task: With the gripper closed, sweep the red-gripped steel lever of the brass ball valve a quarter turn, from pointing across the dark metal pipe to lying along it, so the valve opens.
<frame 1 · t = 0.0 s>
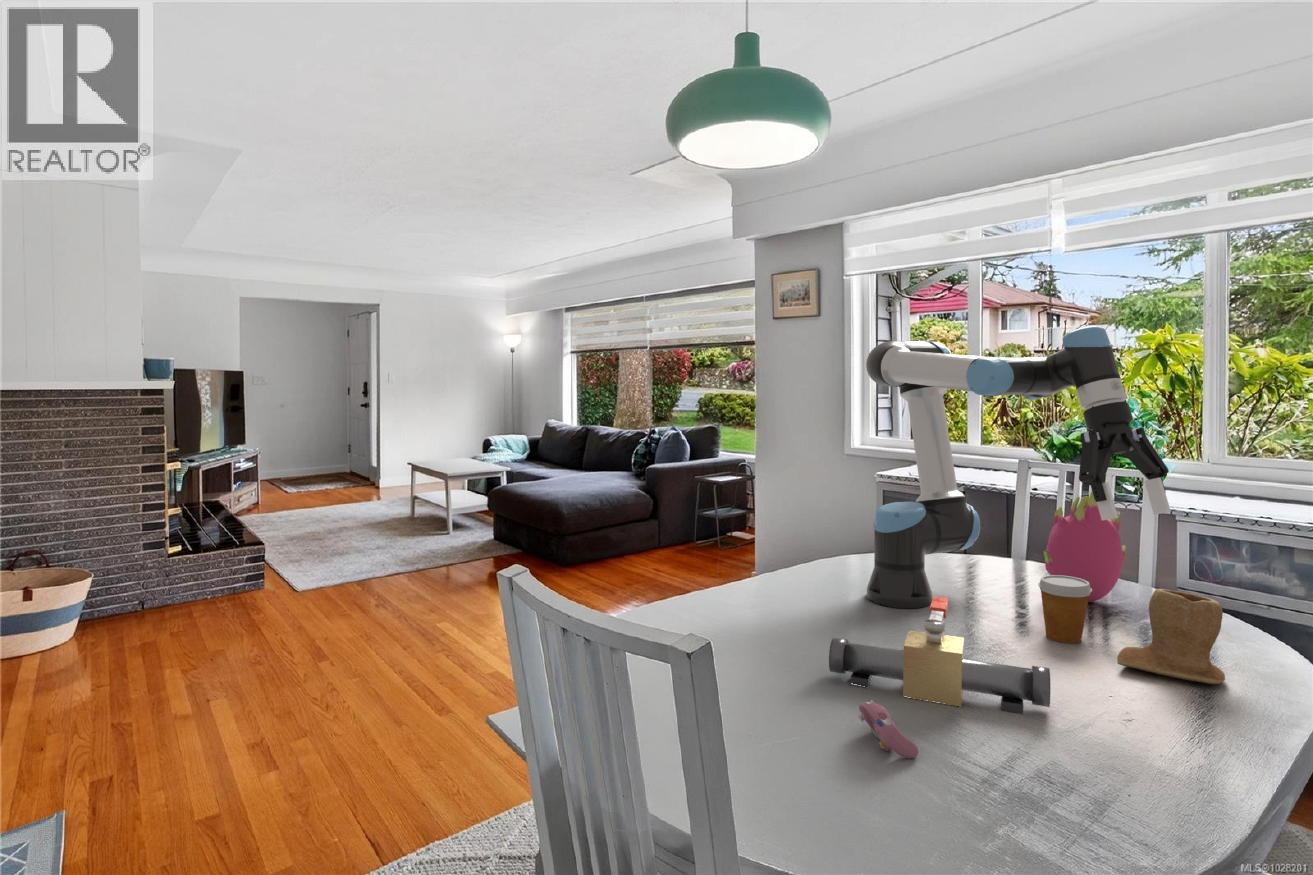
hand: (1136, 516, 128), 28 cm above the table, tool tilted 20°, fingers open, 13 cm apart
valve pipe: (933, 692, 120), on the table
disposable coffee cup: (1063, 638, 144), on the table
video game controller: (885, 745, 103), on the table
tan flared piece: (1170, 673, 126), on the table
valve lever: (937, 614, 125), point 12 cm above the table, hinge at 0.0°
pink dragon fruit: (1082, 602, 168), on the table
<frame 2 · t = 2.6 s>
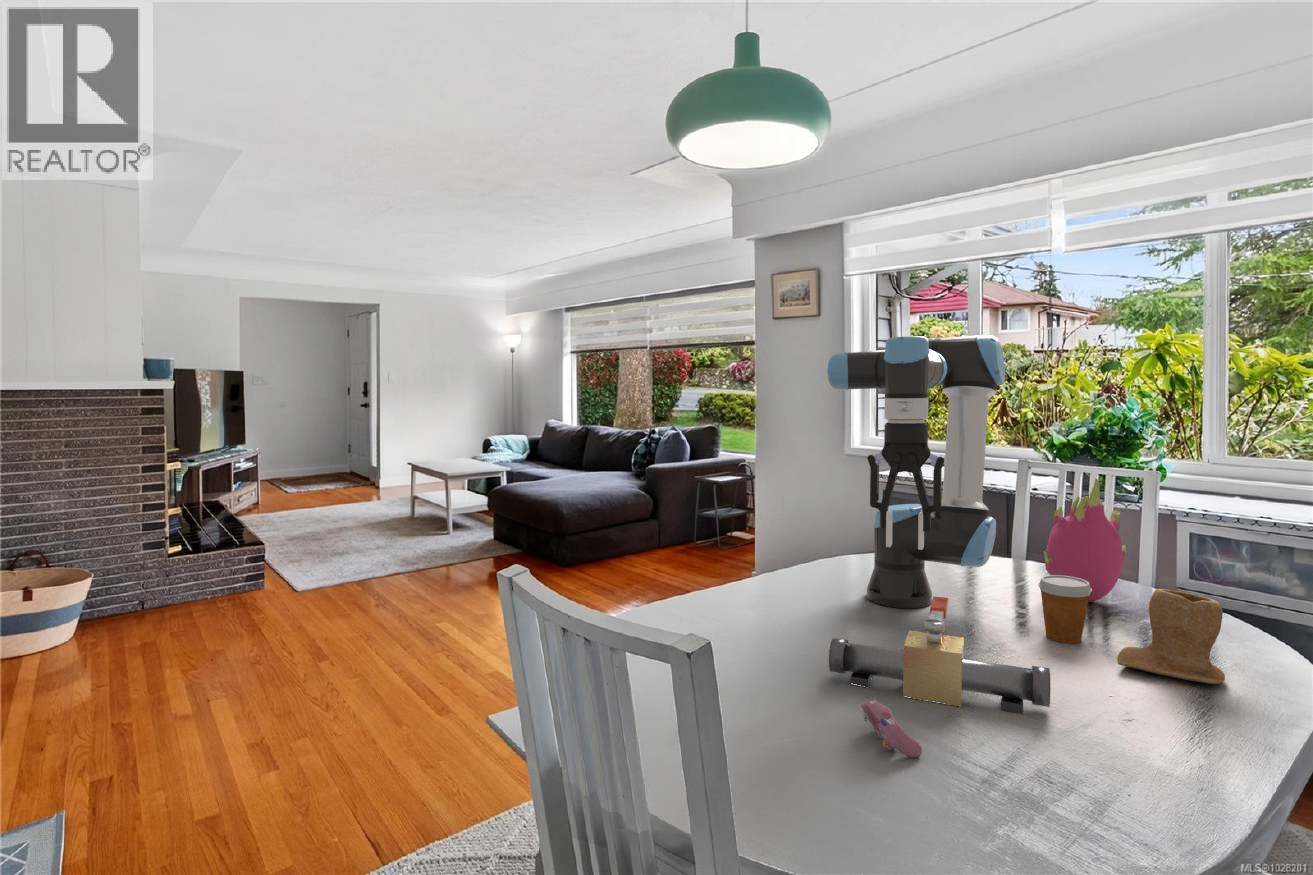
hand: (904, 546, 130), 23 cm above the table, tool pointing down, fingers open, 5 cm apart
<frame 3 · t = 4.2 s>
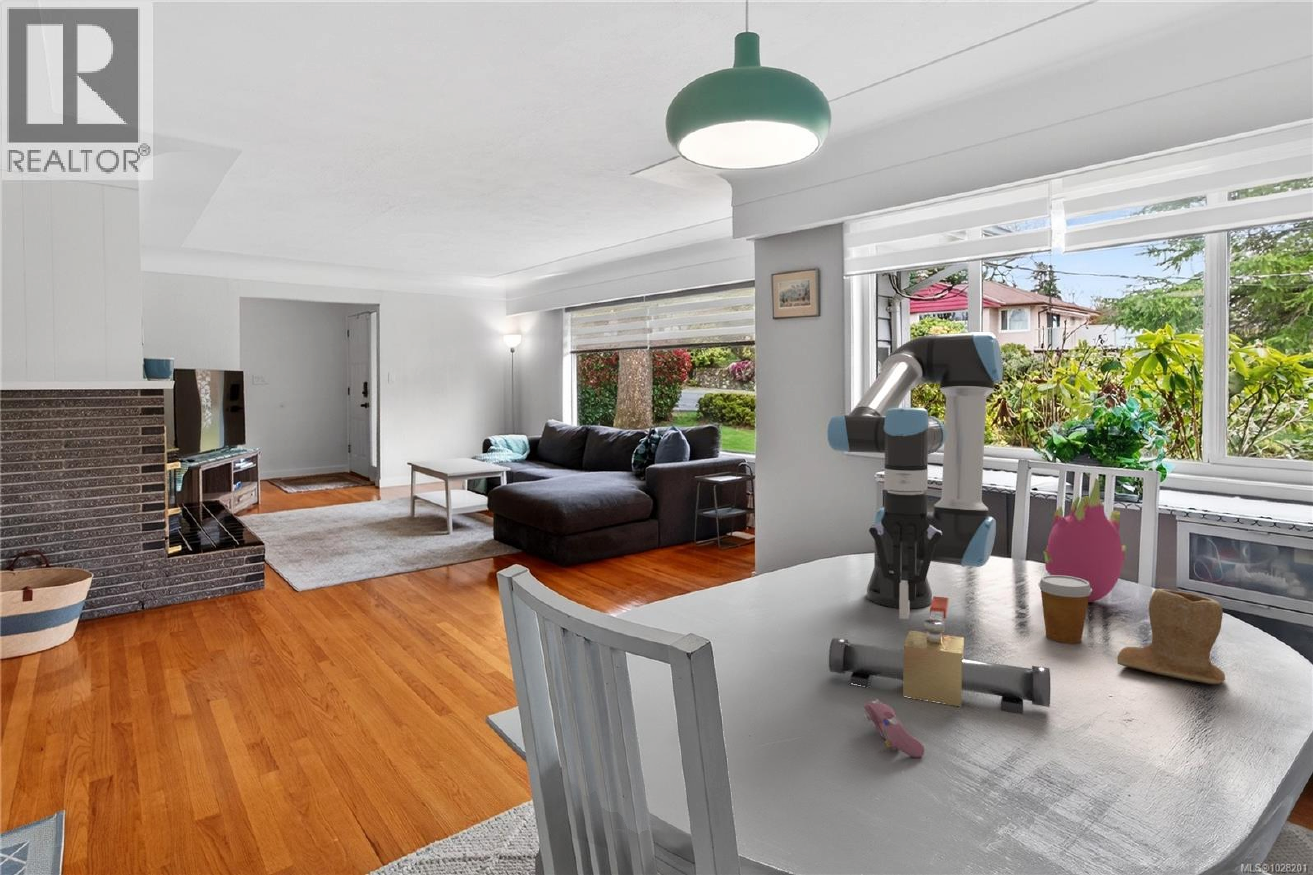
hand: (904, 616, 131), 9 cm above the table, tool pointing down, fingers closed
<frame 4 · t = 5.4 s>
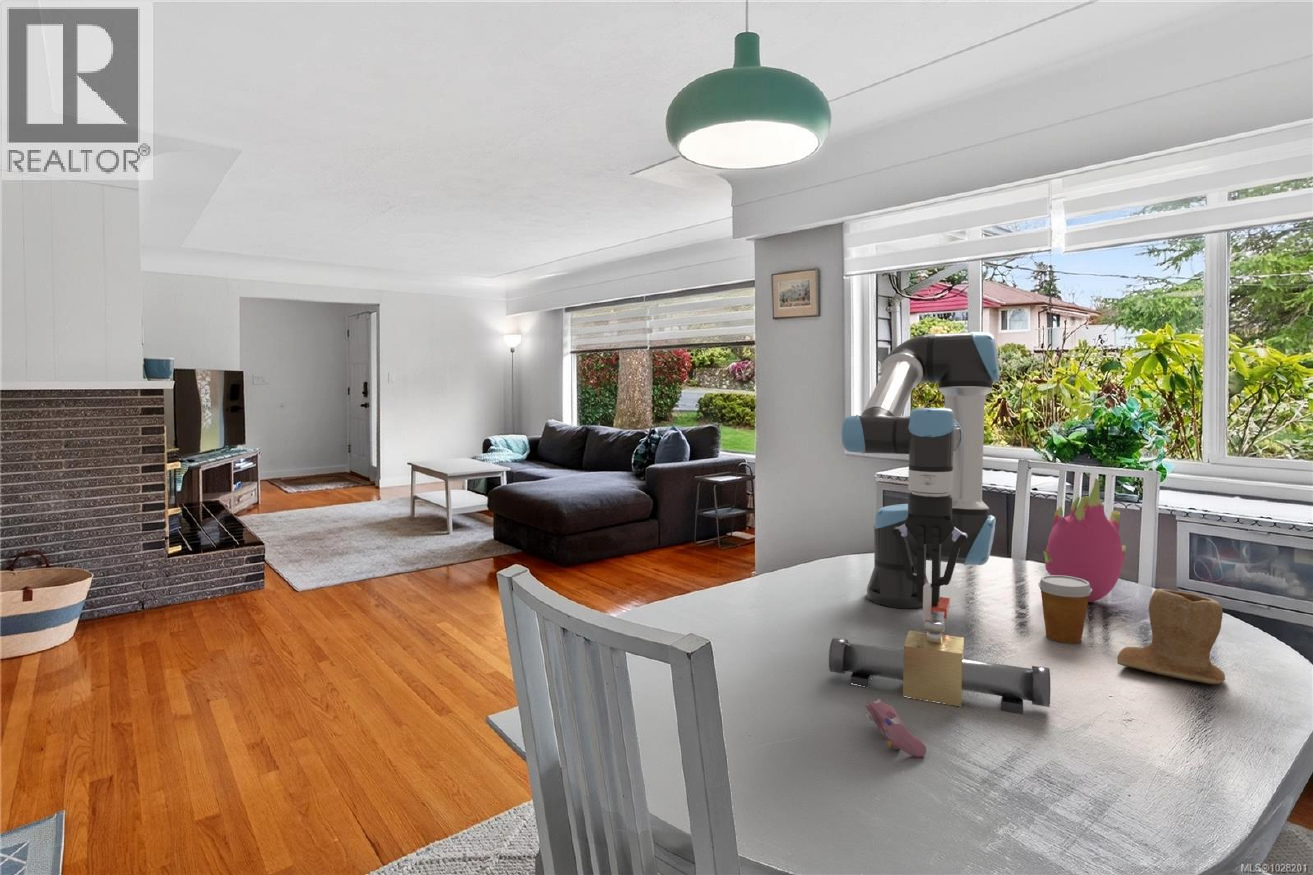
hand: (927, 619, 129), 9 cm above the table, tool pointing down, fingers closed
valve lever: (938, 614, 125), point 12 cm above the table, hinge at 1.0°, touching gripper
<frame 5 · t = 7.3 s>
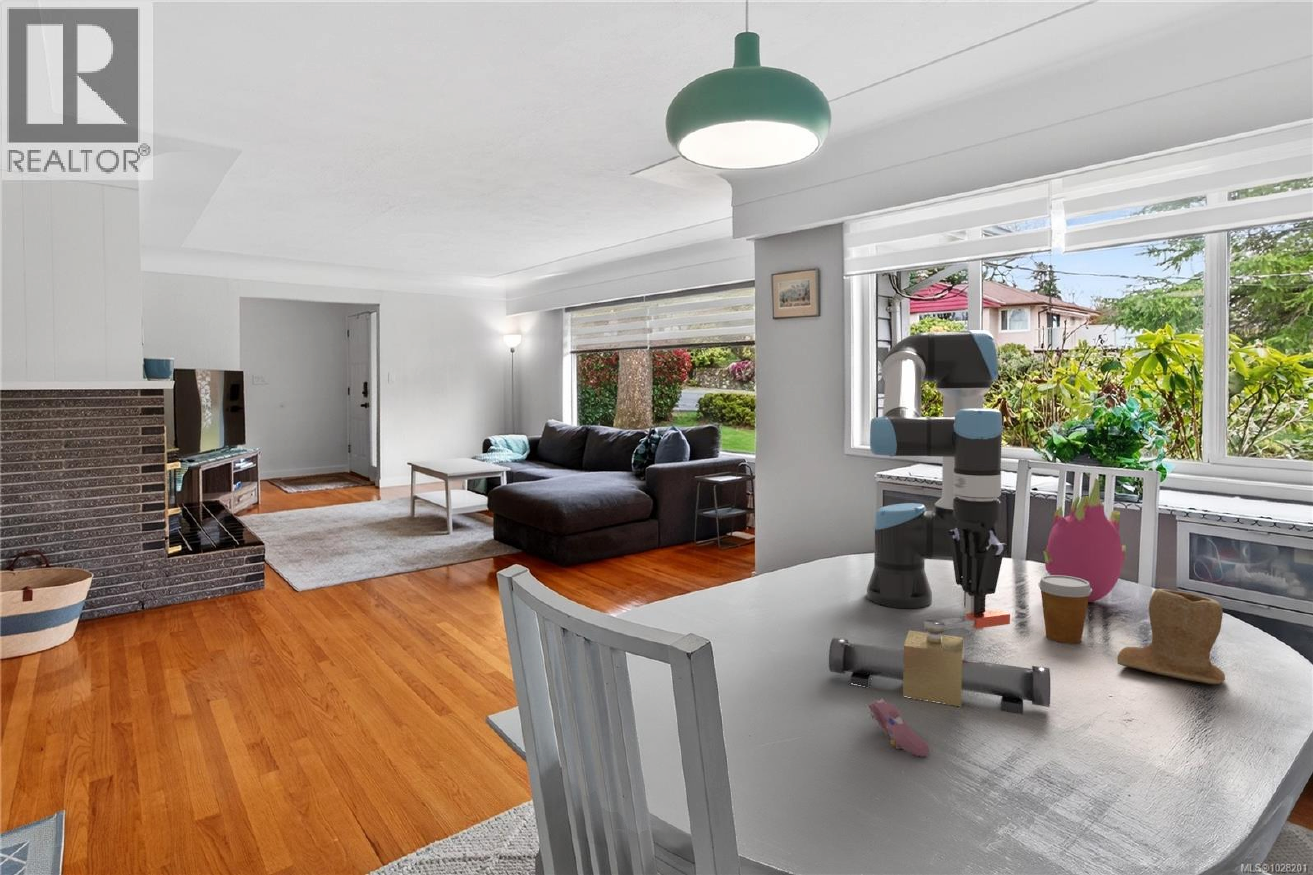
hand: (974, 628, 124), 9 cm above the table, tool pointing down, fingers closed
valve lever: (966, 621, 121), point 12 cm above the table, hinge at 47.6°, touching gripper
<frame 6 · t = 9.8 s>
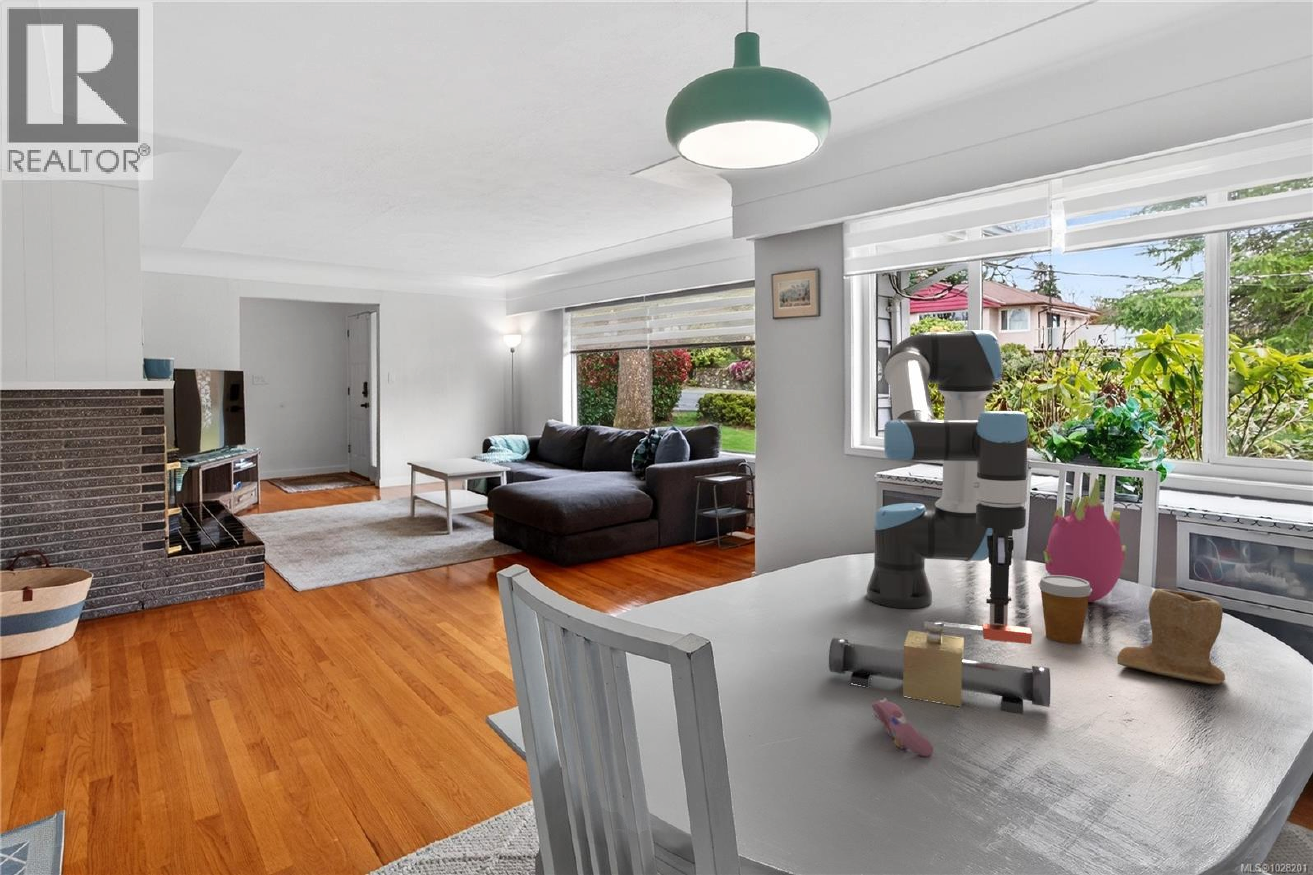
hand: (998, 639, 119), 9 cm above the table, tool pointing down, fingers closed
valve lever: (976, 630, 117), point 12 cm above the table, hinge at 85.9°
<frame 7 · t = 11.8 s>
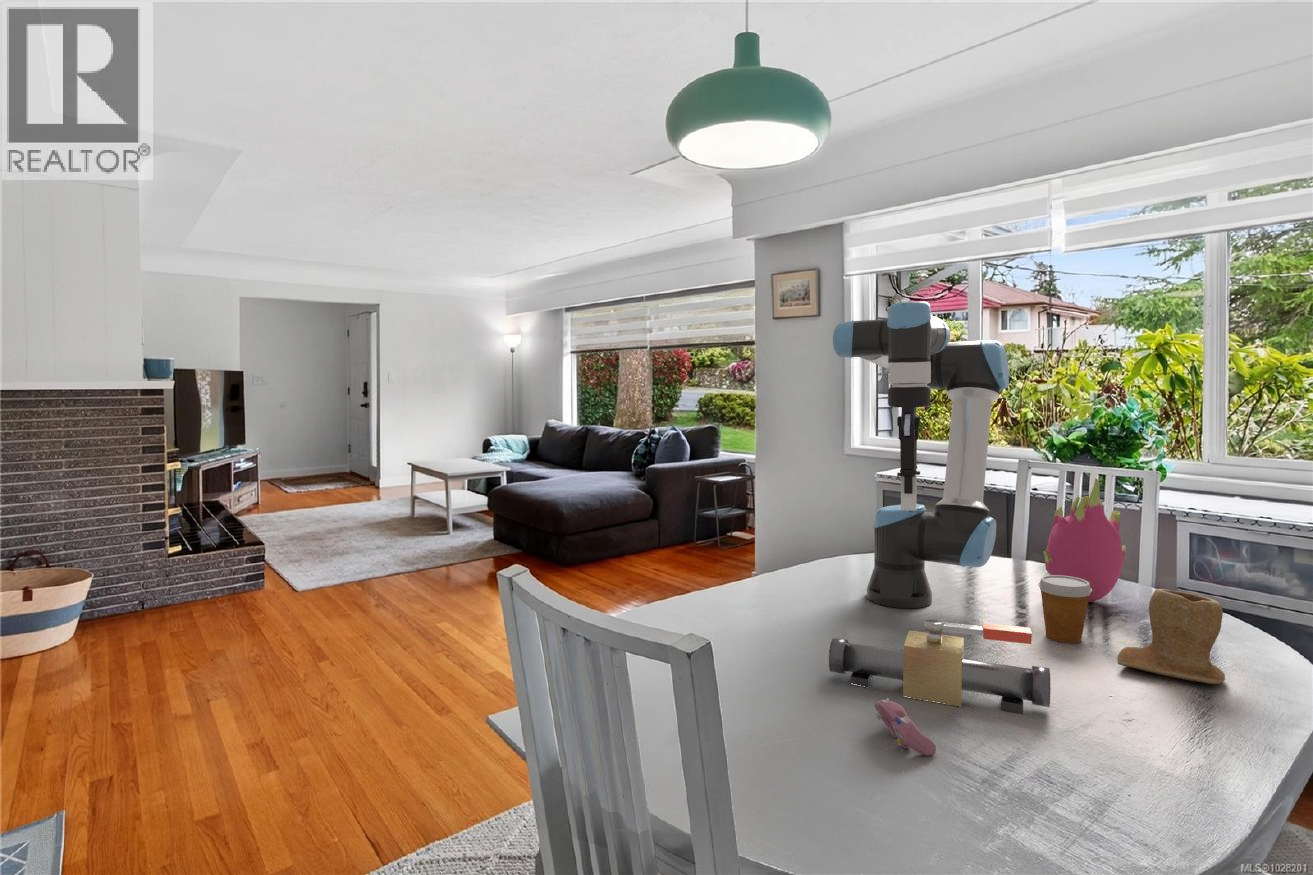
hand: (908, 509, 133), 29 cm above the table, tool pointing down, fingers closed
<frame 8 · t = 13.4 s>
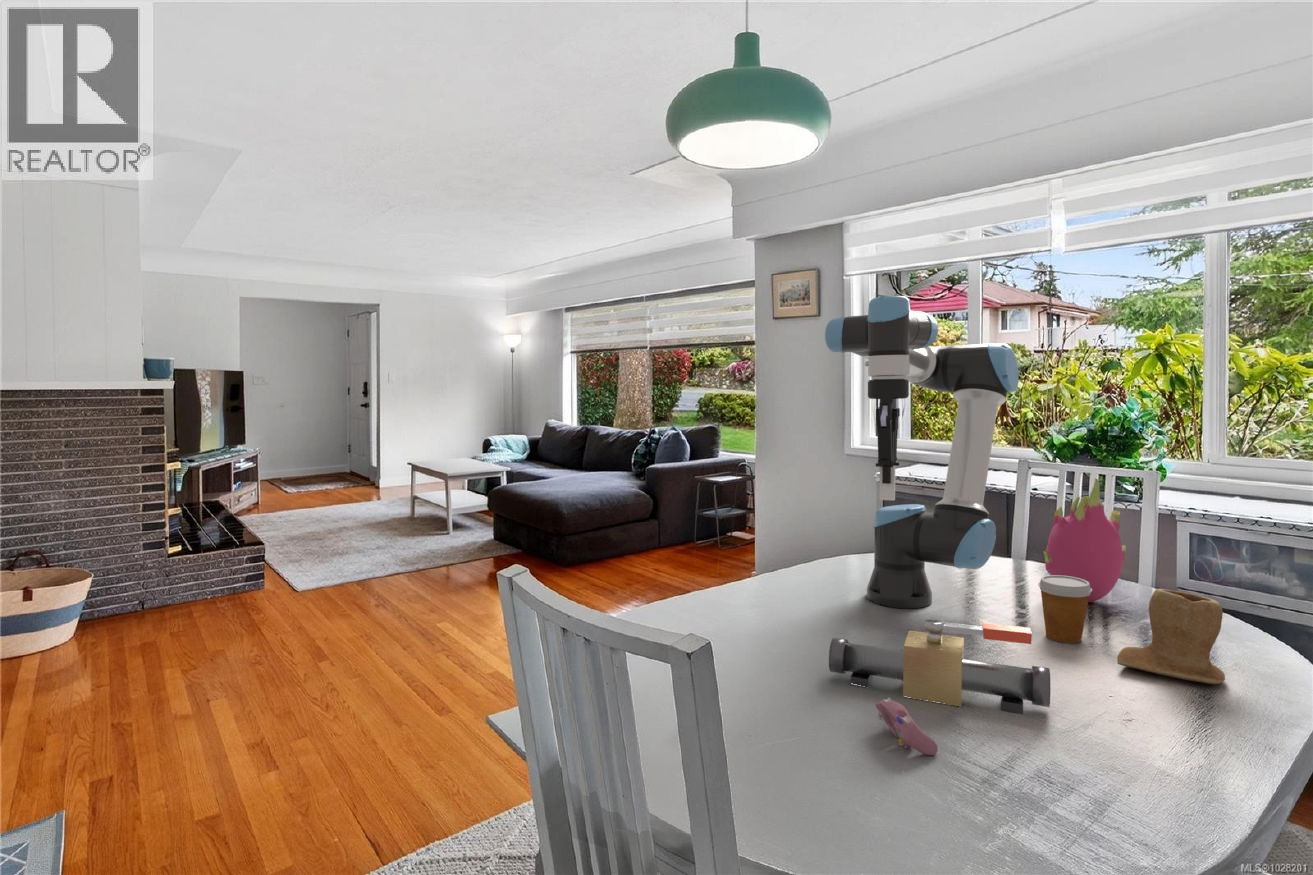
hand: (887, 499, 136), 30 cm above the table, tool pointing down, fingers closed
at the end: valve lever at +86° (first picture: +0°); the gripper is holding nothing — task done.
